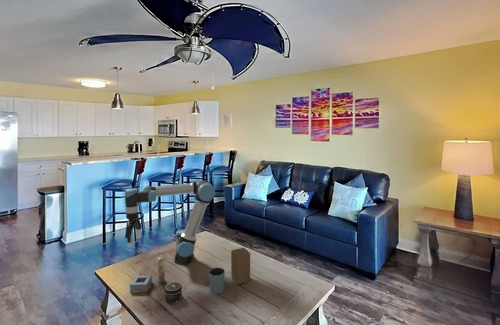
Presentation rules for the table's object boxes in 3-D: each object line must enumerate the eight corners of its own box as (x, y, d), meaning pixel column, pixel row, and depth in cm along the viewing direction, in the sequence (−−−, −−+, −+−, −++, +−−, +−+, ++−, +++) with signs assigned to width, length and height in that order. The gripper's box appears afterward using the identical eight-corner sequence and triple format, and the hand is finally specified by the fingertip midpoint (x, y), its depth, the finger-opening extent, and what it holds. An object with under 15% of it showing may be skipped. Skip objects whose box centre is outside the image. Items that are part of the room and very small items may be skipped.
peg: (165, 279, 179) (164, 257, 177) (163, 283, 175) (163, 260, 173) (159, 280, 178) (158, 257, 176) (157, 283, 174) (156, 260, 172)
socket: (152, 282, 175) (151, 275, 175) (146, 291, 165) (146, 284, 165) (136, 283, 175) (136, 275, 174) (130, 292, 165) (129, 284, 164)
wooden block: (237, 285, 172) (236, 256, 170) (230, 278, 181) (230, 249, 179) (250, 281, 177) (250, 252, 174) (244, 274, 186) (244, 246, 183)
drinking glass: (211, 295, 162) (210, 277, 160) (207, 286, 171) (206, 269, 169) (227, 291, 166) (227, 273, 164) (222, 283, 175) (222, 265, 173)
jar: (168, 292, 165) (168, 281, 164) (184, 293, 164) (184, 281, 163) (161, 303, 155) (161, 290, 154) (178, 304, 154) (178, 291, 153)
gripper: (134, 206, 191) (136, 235, 193) (117, 218, 166) (120, 250, 169) (144, 206, 191) (146, 235, 194) (129, 218, 166) (132, 250, 169)
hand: (134, 242), depth 181 cm, fingers open, 13 cm apart
